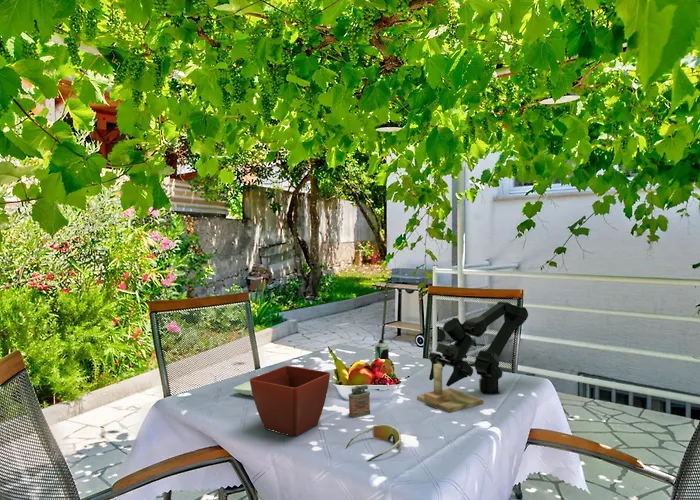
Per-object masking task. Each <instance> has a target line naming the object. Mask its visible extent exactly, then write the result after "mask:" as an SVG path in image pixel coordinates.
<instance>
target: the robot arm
mask: <svg viewBox="0 0 700 500" xmlns="http://www.w3.org/2000/svg"><path fill="white" fill-rule="evenodd" d="M528 312H529V311H528V310H527V308H526V307H524V306H520V305H519V306H518V305H514V304H512V303H510V302H509V301H500V300H499V301H498V302H497V303H496V304H495V305H493V306H492V307H491V308H489V309H488V310H486V311H485V312H483V313H482V314H481V315H479V316H476V317H471V318H470V319H466V320H465V321H463V323H461V321H460V320H459V318H457V317H452V319H449V320H448V321H447V322H445V323H444V324H443V326H442V330H443V331H444V333H446V335H447V336H448V337H449V338H450V339H451V341H453V342H454V343H453V344H452V343H450V344H449V345H447V344H443V343H440V342H439V343H437V347H436V349H435V352H430V354H429V355H428V359H429V362H431V368H430V373H429V378H428V379H429V380H430V381H433V380H434V364H441V365H442V371H443V368H444V367H445V366H449V367H452V368H453V369H452V370H453V371H452V373H451V375H450V376H449V378H448V380H447V382H446V384H445V385H446V387H450V386H452V385H453V384H455V383H458V382H459V381H461V380H463V379H465V378H466V379H467V378H468V377H472V375H473V373H474V369H475V371H476V374H477V376H479V375H480V378H479V379H478V389H479V391H480V392H481V393H482V394H483V395H499V394H501V393H500V391H499V380H500V379H501V378H502V377H503V371H502V370H501V368H500V367H499V365H500V355H501V353H502V352H503V350H504V348H505V347H506V346H507V344H508V342H509V340H510V338H511V337H512V335H513V333H514V332H515V330H516V329H517V328H519V327H520V326H523V325H524V323H525V322H526V320H527V319H528V317H529V313H528ZM501 317H503V324H502V325H501V327H500V328H499V330H498V331H497V333H496V335H495V337H494V338H493V340H492V342H491V343H490V345H489V346H488V348H487V349H486V350H481V349H480V351H478V355H476V357H474V358H475V360H474V368H473V367H472V366H471V365H470V364H469V362H468V361H465V360H466V359H467V358H468V355H467V354H468V352H469V350H470V349H471V347H477V346H478V345H477V341H476V339H474V338H472V337H476V338H480V337H482V336H483V334H485V333H486V331H487V330H488V327H489V326H490V325H492V324H493V323H494V322H496V321H497V320H499V318H501ZM463 359H465V360H463Z"/></svg>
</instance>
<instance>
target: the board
mask: <svg viewBox="0 0 700 500" xmlns="http://www.w3.org/2000/svg"><path fill="white" fill-rule="evenodd" d="M442 390H443V391H446V392H449V393H451V394H452V401H449V402H445V403H441V404H437V405H435V404H432V403H430V402H427V401H425V400H424V393H422V394H419V395H416V400H417V401H419V402H422V403H424V404H426V405H429V406H431V407H433V408H436V409H439V410H440V411H443V412H445V413H448V414H450V413H453V412H457V411H458V412H459V411H461V410H466V409H469V408H472V407H476V406H480V405H483V404H484V399H482V398H480V397H476V396H474V395H471V394H469V393H466V392H462V391H460V390H457V389H455V388H451V387H449V388H445V389H442Z"/></svg>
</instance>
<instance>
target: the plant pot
mask: <svg viewBox="0 0 700 500" xmlns="http://www.w3.org/2000/svg"><path fill="white" fill-rule="evenodd" d="M330 376H331V372H329V371H324V370H318V369H310V368H305V367H299V366H294V365H293V366H292V365H284V366H282V367H279V368H276V369H273V370H271V371H268V372H265V373H261V374H259V375H257V376H254V377H251V378H250V379H249V381H250V385H251V390H252V394H253V397H252V398H253V400H254V404H255V407H256V410H257V413H258V415H259V418H260V421H261V423H262V425H263V427H264V429H265V428H266V429H270V430H274V431H277V432H280V433H279V434H281V433H284V434H283V435H285V434H288V435H287V436H289V435H290V436H289V437H293V436H295V437H297V435H298V436H300V435H301V434H303V433H305V432H306V431H308V430H310V429H311V428H313V427H315V426H317V425H318V424H319V421H320V420H321V419H320V418H321V415H322V412H323V411H324V410H323V409H324V406H325V403H326V399H327V394H328V389H329V383H330V378H331V377H330ZM266 429H265V430H266ZM277 432H276V433H277Z"/></svg>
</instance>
